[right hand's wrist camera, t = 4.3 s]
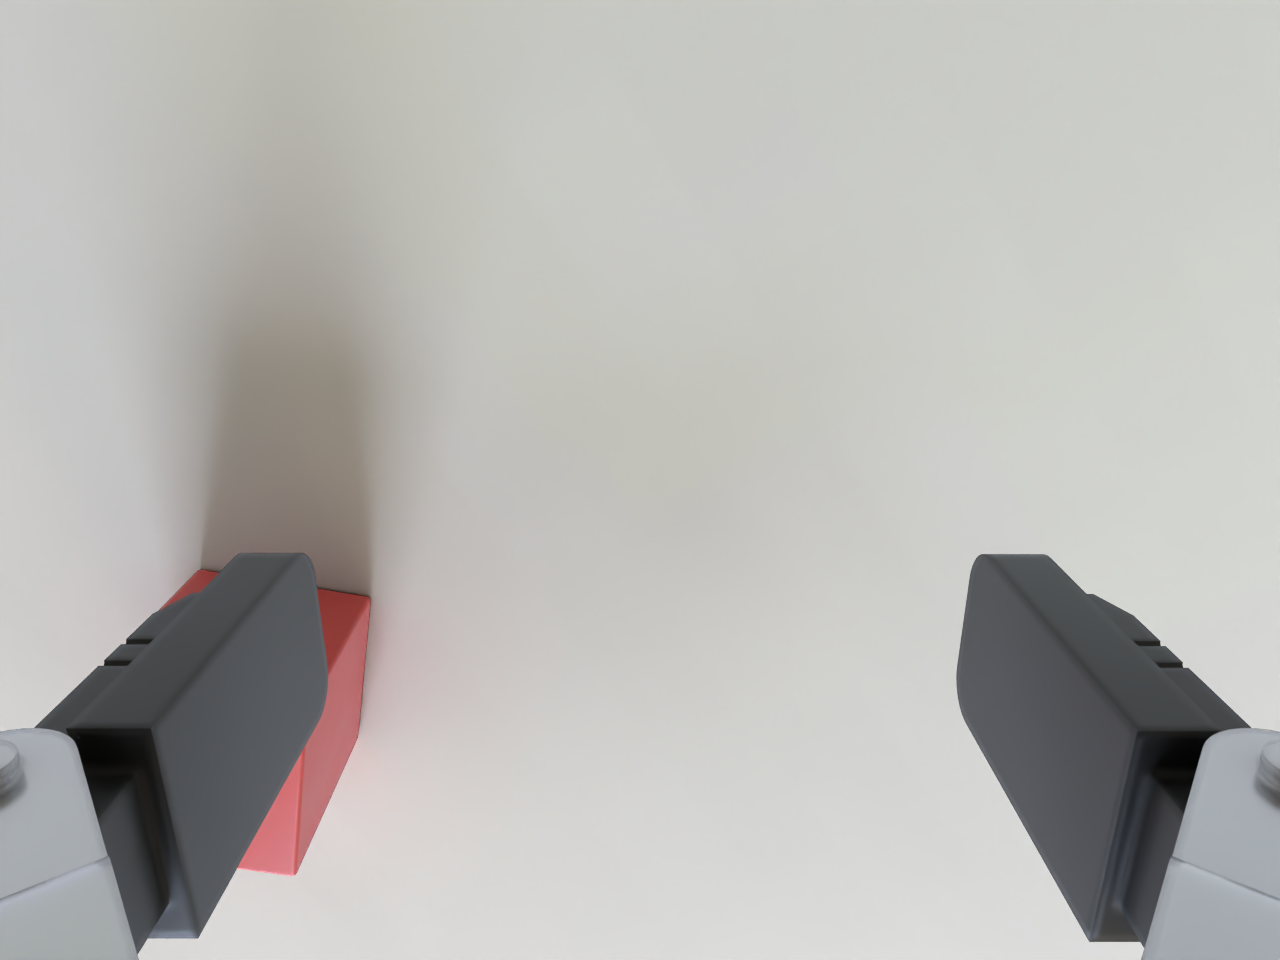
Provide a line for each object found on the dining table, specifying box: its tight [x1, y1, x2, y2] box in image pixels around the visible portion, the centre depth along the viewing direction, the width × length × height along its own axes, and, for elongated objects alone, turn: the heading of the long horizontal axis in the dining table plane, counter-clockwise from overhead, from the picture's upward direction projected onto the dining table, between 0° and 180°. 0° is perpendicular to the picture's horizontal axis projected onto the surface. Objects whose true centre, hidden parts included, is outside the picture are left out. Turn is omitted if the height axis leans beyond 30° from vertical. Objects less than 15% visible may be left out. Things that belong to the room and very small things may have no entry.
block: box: [160, 570, 371, 876], centre depth 20 cm, size 4×4×5 cm
